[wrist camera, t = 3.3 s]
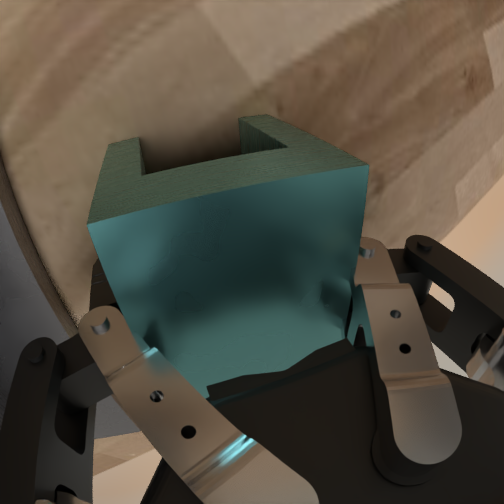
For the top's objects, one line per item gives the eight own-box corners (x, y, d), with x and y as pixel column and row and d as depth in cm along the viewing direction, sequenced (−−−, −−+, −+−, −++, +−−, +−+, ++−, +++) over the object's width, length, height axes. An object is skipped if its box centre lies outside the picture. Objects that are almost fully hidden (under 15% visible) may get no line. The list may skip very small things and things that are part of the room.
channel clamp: (108, 144, 10) (86, 224, 5) (266, 114, 11) (369, 164, 7) (157, 312, 14) (182, 425, 10) (273, 280, 16) (333, 375, 11)
